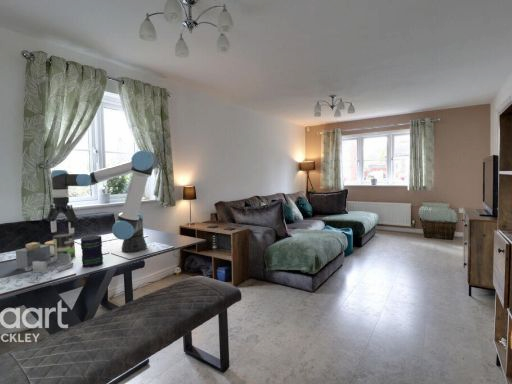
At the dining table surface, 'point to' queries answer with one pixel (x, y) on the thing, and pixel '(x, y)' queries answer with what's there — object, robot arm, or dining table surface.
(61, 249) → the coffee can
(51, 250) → the lidded jar
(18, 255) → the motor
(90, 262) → the storage jar
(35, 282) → the dining table surface
